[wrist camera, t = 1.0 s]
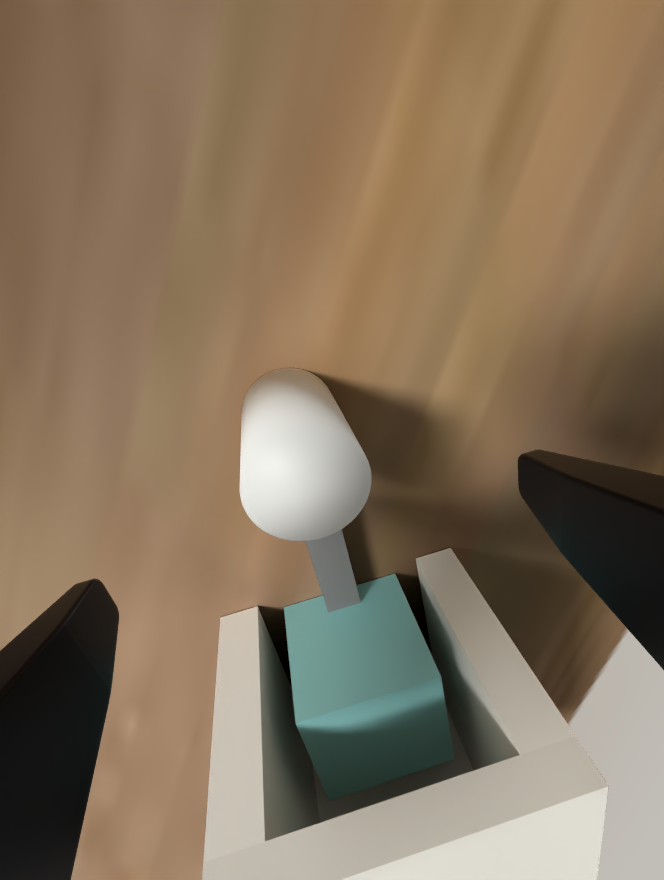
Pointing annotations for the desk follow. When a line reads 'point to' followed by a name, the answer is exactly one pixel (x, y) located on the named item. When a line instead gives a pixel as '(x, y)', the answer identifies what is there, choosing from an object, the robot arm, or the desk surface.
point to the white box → (411, 796)
